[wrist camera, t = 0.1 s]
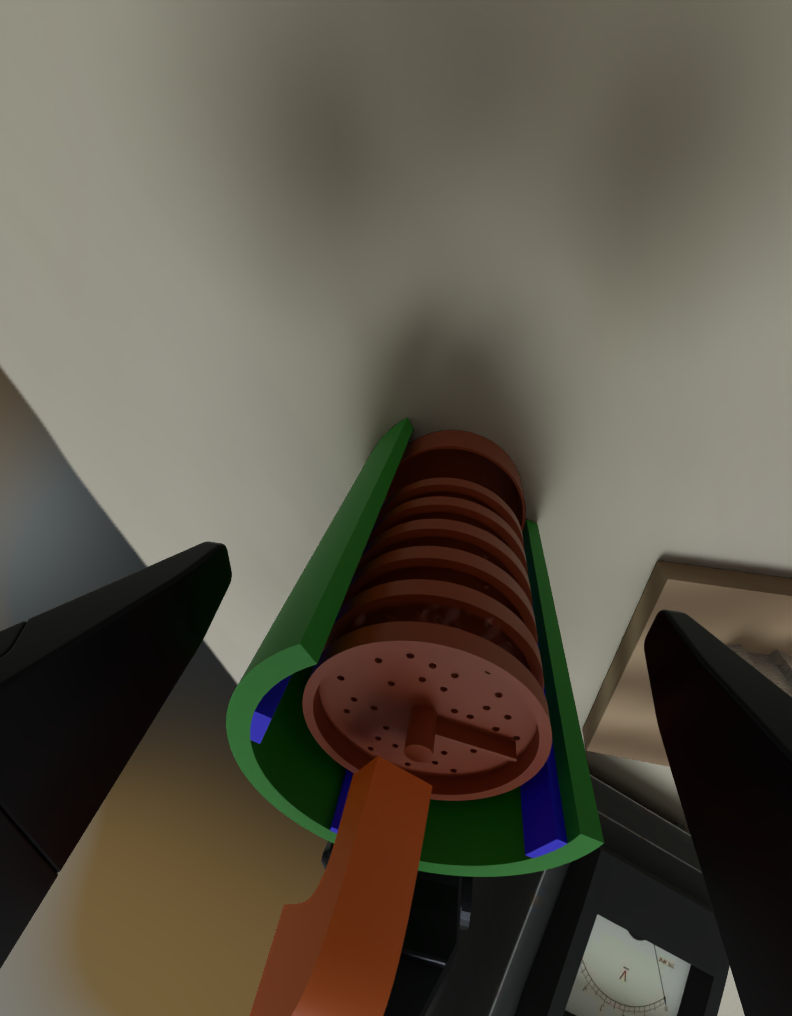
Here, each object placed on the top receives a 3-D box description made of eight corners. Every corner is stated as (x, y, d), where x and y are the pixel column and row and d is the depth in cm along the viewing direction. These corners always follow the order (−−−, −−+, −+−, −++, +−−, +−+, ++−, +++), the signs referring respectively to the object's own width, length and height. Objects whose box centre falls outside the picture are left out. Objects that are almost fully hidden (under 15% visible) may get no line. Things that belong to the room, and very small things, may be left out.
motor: (571, 478, 23) (824, 1149, 6) (487, 590, 27) (488, 1138, 10) (396, 394, 22) (101, 865, 5) (341, 523, 27) (91, 989, 10)
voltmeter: (713, 830, 36) (915, 1344, 19) (567, 876, 44) (617, 1261, 27) (566, 740, 34) (649, 1239, 17) (441, 807, 42) (410, 1183, 25)
